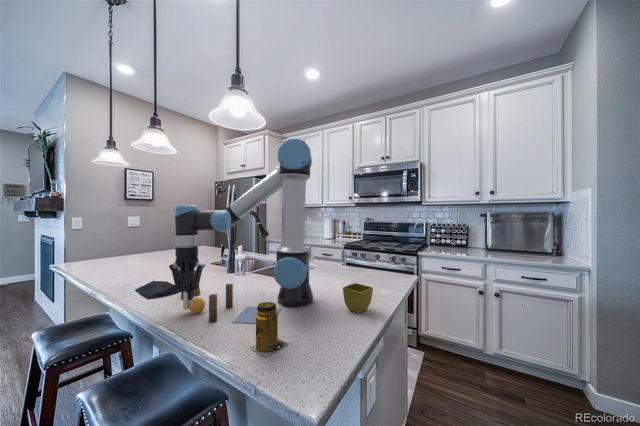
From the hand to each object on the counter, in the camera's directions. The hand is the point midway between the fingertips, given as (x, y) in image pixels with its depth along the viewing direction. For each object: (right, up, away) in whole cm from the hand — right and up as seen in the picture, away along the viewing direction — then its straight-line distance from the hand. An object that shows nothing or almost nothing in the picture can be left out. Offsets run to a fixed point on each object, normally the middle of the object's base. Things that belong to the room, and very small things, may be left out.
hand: (187, 308), depth 93 cm
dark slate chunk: (-27, -2, +25) cm, 36 cm away
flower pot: (+65, -2, +3) cm, 65 cm away
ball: (+4, +1, 0) cm, 4 cm away
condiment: (+36, -2, -23) cm, 43 cm away
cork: (-8, -2, +20) cm, 21 cm away
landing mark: (+27, -2, -2) cm, 27 cm away
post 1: (+13, -2, -7) cm, 15 cm away
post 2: (+14, -2, +5) cm, 15 cm away
